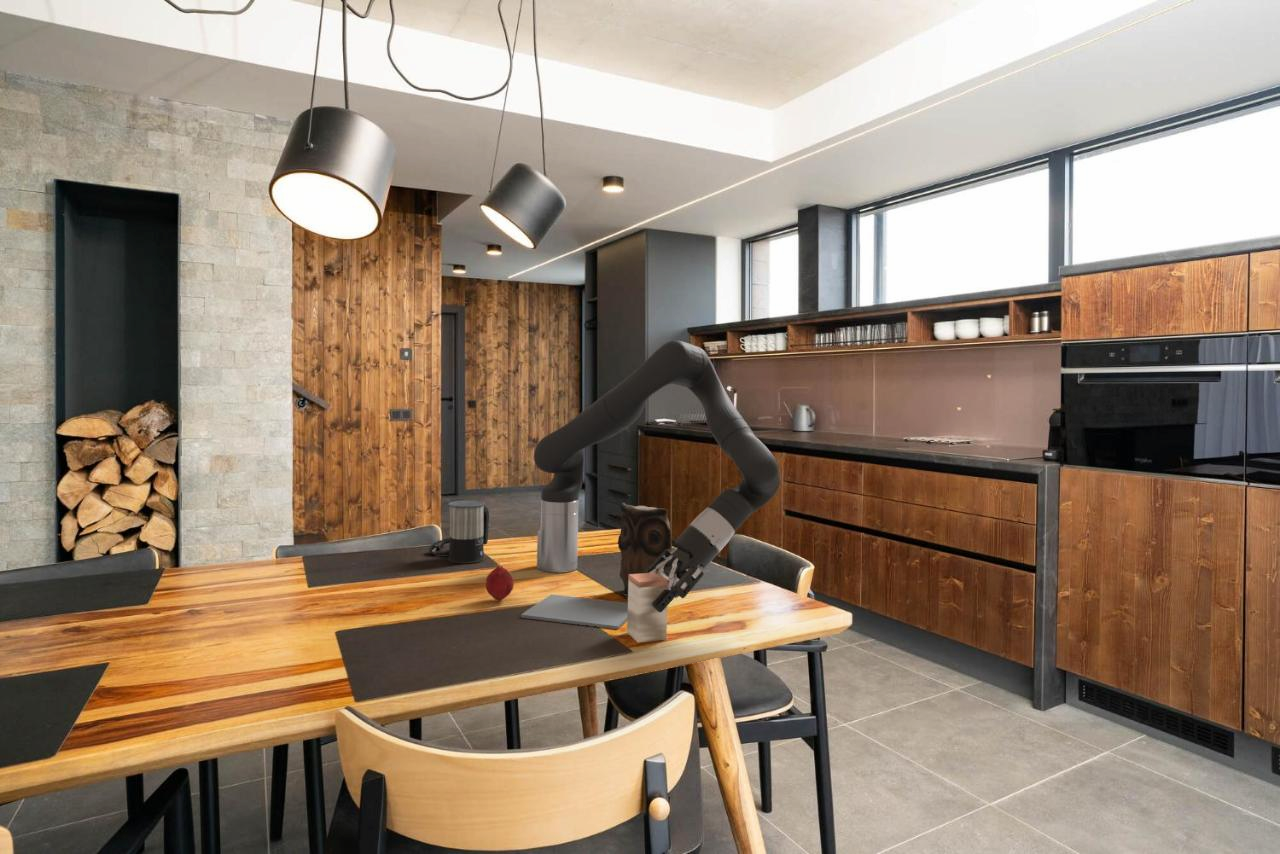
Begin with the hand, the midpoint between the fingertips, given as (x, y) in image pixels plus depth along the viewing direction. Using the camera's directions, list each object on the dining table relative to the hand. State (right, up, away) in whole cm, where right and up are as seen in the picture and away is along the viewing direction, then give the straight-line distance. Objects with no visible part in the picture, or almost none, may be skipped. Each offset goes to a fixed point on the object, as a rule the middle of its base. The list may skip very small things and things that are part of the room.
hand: (647, 602), depth 137 cm
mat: (-13, -5, +14) cm, 19 cm away
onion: (-31, -5, +20) cm, 37 cm away
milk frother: (-49, -2, +57) cm, 76 cm away
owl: (+2, -5, +28) cm, 28 cm away
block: (0, -6, 0) cm, 6 cm away
